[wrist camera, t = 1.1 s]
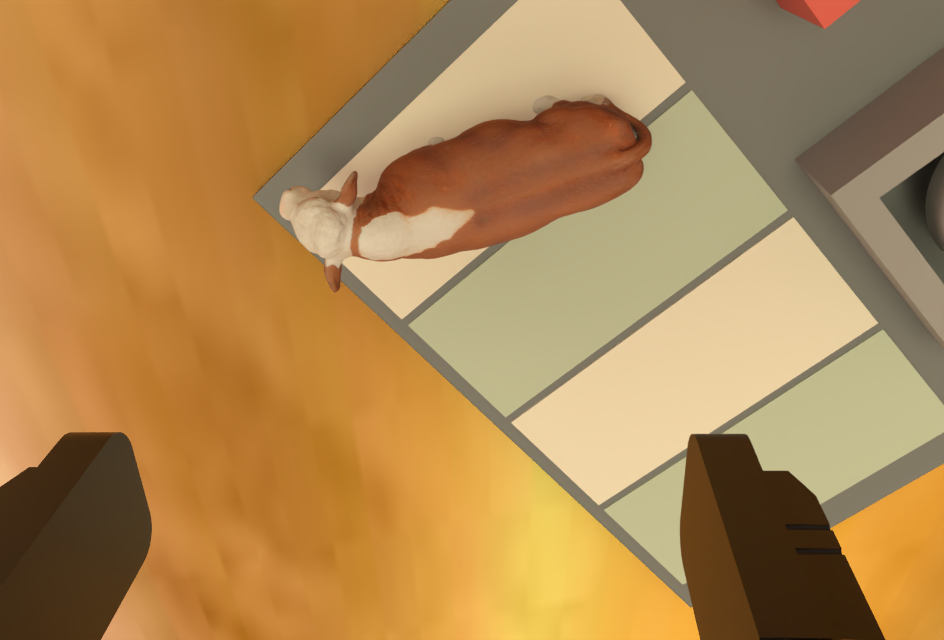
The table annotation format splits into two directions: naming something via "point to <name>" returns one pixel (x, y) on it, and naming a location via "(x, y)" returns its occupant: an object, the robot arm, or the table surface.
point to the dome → (936, 205)
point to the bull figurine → (477, 186)
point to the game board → (682, 244)
